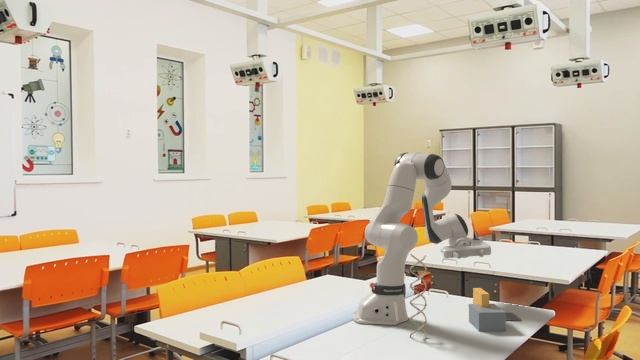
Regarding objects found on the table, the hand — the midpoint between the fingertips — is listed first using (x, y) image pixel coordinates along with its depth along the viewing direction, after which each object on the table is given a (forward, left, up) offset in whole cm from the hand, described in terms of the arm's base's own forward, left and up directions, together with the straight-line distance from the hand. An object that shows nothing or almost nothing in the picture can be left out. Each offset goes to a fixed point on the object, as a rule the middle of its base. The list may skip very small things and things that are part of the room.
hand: (470, 255), depth 218 cm
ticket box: (0, -20, -23) cm, 31 cm away
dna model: (-29, -32, -24) cm, 50 cm away
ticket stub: (0, -14, -23) cm, 27 cm away
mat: (+11, -9, -23) cm, 27 cm away
